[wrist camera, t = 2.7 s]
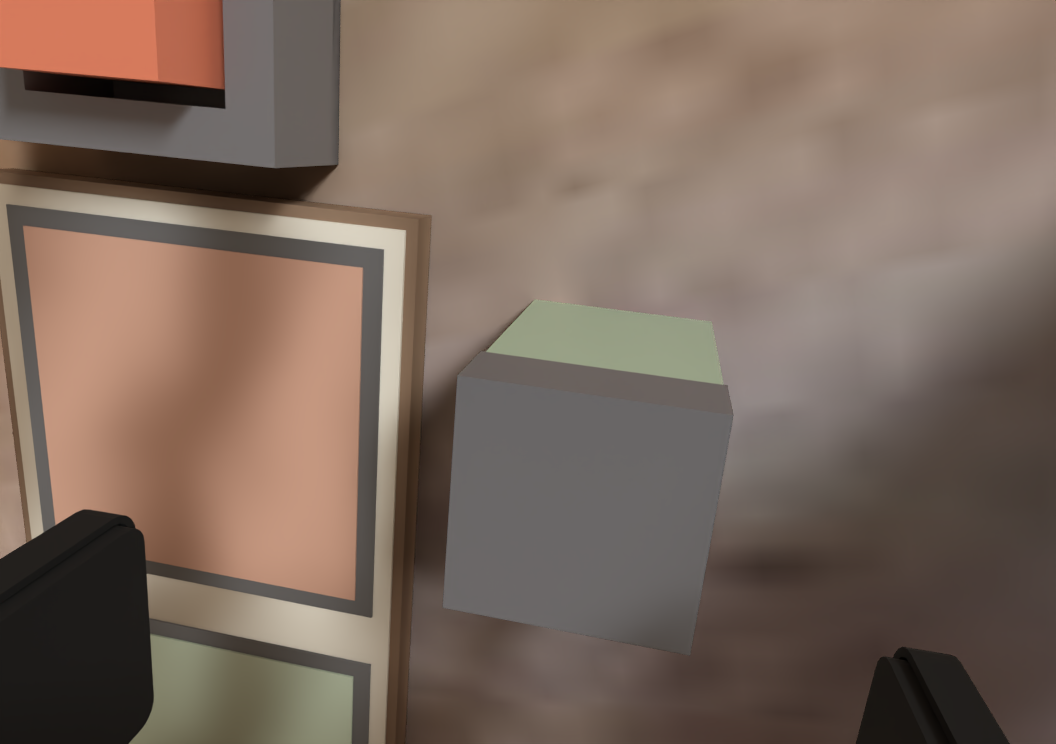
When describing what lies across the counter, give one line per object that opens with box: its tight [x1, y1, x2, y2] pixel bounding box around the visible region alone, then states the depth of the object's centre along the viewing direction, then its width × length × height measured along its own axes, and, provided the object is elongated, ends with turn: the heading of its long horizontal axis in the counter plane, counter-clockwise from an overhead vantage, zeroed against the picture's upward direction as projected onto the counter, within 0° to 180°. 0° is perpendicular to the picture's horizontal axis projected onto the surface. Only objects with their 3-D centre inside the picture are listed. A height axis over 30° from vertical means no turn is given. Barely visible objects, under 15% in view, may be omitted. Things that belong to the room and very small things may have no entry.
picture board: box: [0, 169, 431, 744], centre depth 23 cm, size 12×24×1 cm, turn 175°
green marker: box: [443, 299, 734, 655], centre depth 16 cm, size 4×4×7 cm
